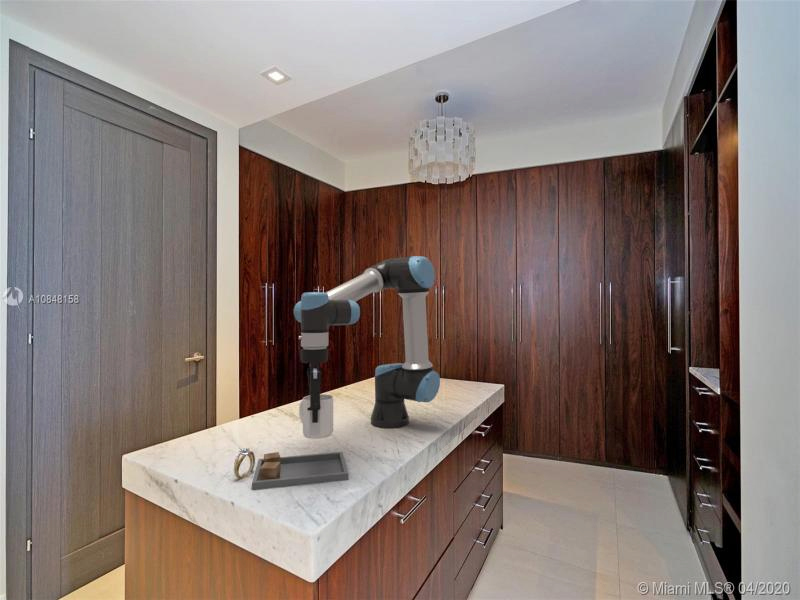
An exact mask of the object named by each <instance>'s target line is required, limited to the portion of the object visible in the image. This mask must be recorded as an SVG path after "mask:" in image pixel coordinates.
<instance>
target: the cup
mask: <svg viewBox="0 0 800 600" xmlns="http://www.w3.org/2000/svg"><path fill="white" fill-rule="evenodd" d="M313 405H318V404H313ZM320 406H321V408H320V434H315V435H310V410H309V411H307V408H310V395H309V394H308V395H306V396H303V398H302V400H301V401H300V403H299V409H298V410H299V411H298V415H299V420H300V422H301V423H302V435H303V436H304V437H305V438H307V439H309V440H310V439H311V440H312V439H313V440H317V439H326V438H329V437H331V436H332V435H333V433H334V396H333V395H331V394H324V393H323V394H321V393H320Z"/></svg>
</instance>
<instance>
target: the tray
mask: <svg viewBox="0 0 800 600" xmlns="http://www.w3.org/2000/svg"><path fill="white" fill-rule="evenodd" d="M263 464H264V458H258V460H257V464H256V467H255V471H254V475H253V478H252V481H251V490H252V491H256V490H264V489H265V490H266V489H275V488H284V487H294V486H303V485H313V484H322V483H323V484H324V483H332V482H339V481H340V482H342V481H349V471H348V470H349V469H348V466H347V463H346V459H345V455H344V452H343V451H336V452H335V451H333V452H324V453H313V454H300V455H289V456H280V478H279V479H270V480H260V467H261V466H262V465H263Z"/></svg>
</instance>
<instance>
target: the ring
mask: <svg viewBox="0 0 800 600" xmlns="http://www.w3.org/2000/svg"><path fill="white" fill-rule="evenodd" d="M246 456H247V457H248V458H249V461H250V462H249V463H250V464H249V469H248V471H247V472H246V473H245V474H244V473H243V475H240V473H239V471H240V467H241V464H242V463H243V461H244V459H245V458H246ZM255 463H256V456H255V453H254V451H252V450H251V449H250V447H248V448H247V447H246V448H245V447H244V448H241V449H240V450H239V451H238V452H237V454H236V456H235V459H234V464H233V475H234V477H236V478H237V479H239V480H241V479H243V478H245V477H247V476H249V475H250V474H252V472H253V470H254V467H255V466H256V465H255Z"/></svg>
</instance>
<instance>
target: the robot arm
mask: <svg viewBox="0 0 800 600" xmlns="http://www.w3.org/2000/svg"><path fill="white" fill-rule="evenodd" d="M435 273H436V272H435V268H434V265H433V264H432V262H431V261H430V259H428V257H425V256H421V255H420V256H417V255H413V256H406V257H394V258H393V257H392V258H388V259H385V260H382V261H381V262H378V263H376V264H375V265H372V266H370V267H368V268H367V269H365V270H364V272H363V273H362V274H359V275H358V276H356V277H355V278H354V277H353V278H352V279H350V280H348V281H346V282H343V283H342V284H340V285H338V286H335V287H334V288H331V289H330V290H328V291H326V292H317V291H314V292H311V291H310V292H307V291H306V292H303V293H302V294H301V298H300V301H298V302H297V303H296V304H295V305H294V308H293V316H294V319H295V320H296V321H297V322H298V323H300V334H301V335H299V336H298V340H300V347H302V348H301V349H300V362H301V363H303V364H309V365H308V367H307V368H306V375H307V384H308V388H309V392H308V396H309V395H310V408H307V411H309V410H310V435H315V434H320V408H321V406H320V394H321V385H322V375H323V369H322V367H320V363H321V364H324V363H326V362H328V361H329V349H328V346H329V326H349V325H354V324H356V323H357V322H358V321H359V319H360V316H361V308H360V305H359V303H357V302H358V301H359V300H361V299H363V298H364V297H366V296H368V295H370V294H372V293H379V292H382V291H383V290H389V289H390V290H391V289H392V290H393V289H396V290H397V295H399V296H400V298H401V299H402V313H403V314H402V315H403V332H404V333H403V335H404V355H405V362H404V363H401V362H399V363H398V362H397V363H387V364H381V365H378V366H376V368H375V370H374V371H375V374H374V395H375V396H374V398H375V399H374V400H375V401H374V405H373V409H372V413H371V415H370V424H371V425H373V426H375V427H377V428H382V429H393V428H401V427H405V426H408V424H409V423H410V416H409V413H408V409H407V408H406V404H405V400H409V401H414V402H417V403H430V402H432V401H433V400H434V399H435V398H436V396H437V394H438V393H439V390H440V386H441V377H440V374H439V373H438V371H436V370H434V366H433V363H432V362H431V361H430V360H429V346H428V341H429V340H428V326H427V325H428V324H427V322H428V321H427V306H426V305H427V302H426V297H427V296H428V295H429V293H430V288H432V286H433V285H434V284H435V280H436V274H435ZM313 404H318V405H313Z"/></svg>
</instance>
